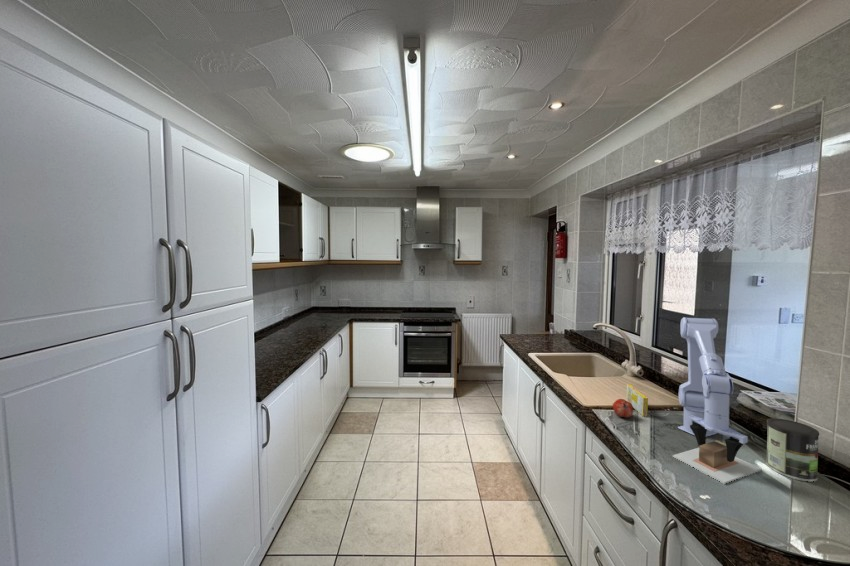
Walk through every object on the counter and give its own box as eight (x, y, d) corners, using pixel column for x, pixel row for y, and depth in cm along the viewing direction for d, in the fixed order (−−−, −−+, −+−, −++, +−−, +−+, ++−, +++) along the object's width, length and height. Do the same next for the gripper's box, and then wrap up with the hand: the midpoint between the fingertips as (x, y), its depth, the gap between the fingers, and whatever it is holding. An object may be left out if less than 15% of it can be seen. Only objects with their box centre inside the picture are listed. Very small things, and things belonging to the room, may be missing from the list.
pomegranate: (610, 416, 136) (612, 410, 129) (612, 400, 139) (614, 393, 132) (631, 422, 132) (633, 417, 125) (632, 406, 135) (635, 399, 128)
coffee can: (823, 476, 93) (825, 429, 92) (809, 486, 88) (810, 438, 88) (774, 457, 102) (775, 415, 101) (759, 465, 98) (760, 422, 97)
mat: (708, 446, 109) (708, 444, 109) (761, 470, 96) (761, 468, 96) (672, 457, 103) (672, 455, 103) (724, 484, 90) (724, 482, 90)
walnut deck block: (698, 460, 100) (699, 445, 100) (717, 455, 103) (717, 440, 102) (713, 468, 96) (714, 452, 96) (732, 462, 99) (732, 446, 99)
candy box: (648, 417, 131) (648, 398, 130) (642, 417, 131) (642, 397, 131) (630, 401, 147) (631, 384, 146) (625, 401, 147) (626, 383, 147)
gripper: (682, 404, 104) (682, 444, 105) (737, 425, 91) (736, 470, 91) (696, 401, 106) (696, 440, 107) (752, 420, 93) (751, 465, 93)
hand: (715, 453), depth 99 cm, fingers open, 7 cm apart
